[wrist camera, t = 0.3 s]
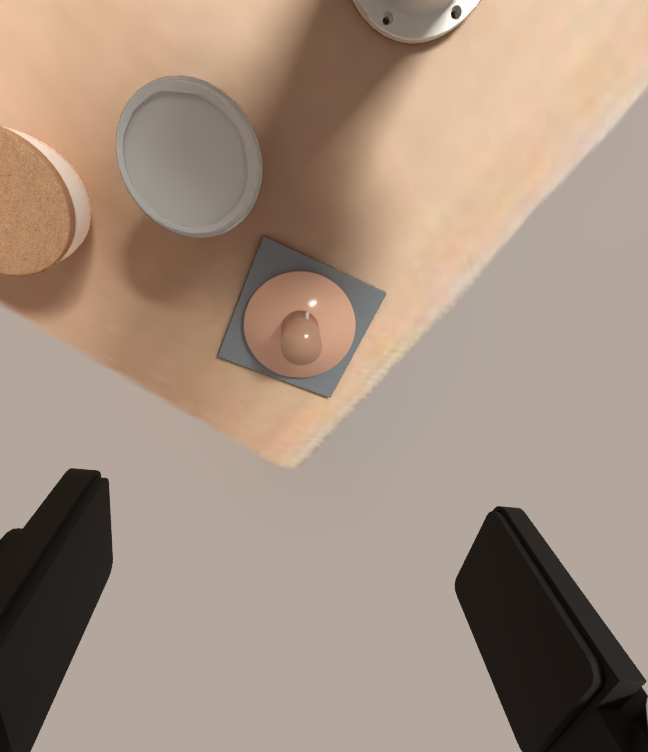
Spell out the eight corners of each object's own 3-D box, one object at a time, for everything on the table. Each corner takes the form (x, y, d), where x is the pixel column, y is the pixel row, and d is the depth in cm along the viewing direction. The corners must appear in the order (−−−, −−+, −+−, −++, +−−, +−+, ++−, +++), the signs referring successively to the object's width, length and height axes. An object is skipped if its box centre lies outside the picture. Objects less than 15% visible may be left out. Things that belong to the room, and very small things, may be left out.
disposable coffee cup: (289, 149, 36) (288, 140, 25) (238, 240, 39) (219, 267, 28) (191, 75, 33) (144, 29, 22) (145, 181, 36) (85, 185, 25)
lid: (268, 250, 39) (265, 262, 34) (373, 298, 42) (385, 316, 37) (229, 352, 44) (221, 376, 39) (326, 388, 47) (330, 415, 42)
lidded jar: (-31, 215, 36) (-126, 228, 28) (0, 99, 33) (-99, 74, 24) (87, 278, 40) (34, 307, 31) (128, 179, 36) (79, 182, 28)
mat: (263, 235, 39) (262, 236, 38) (385, 292, 43) (386, 293, 42) (218, 354, 44) (217, 356, 44) (329, 395, 48) (330, 397, 48)
